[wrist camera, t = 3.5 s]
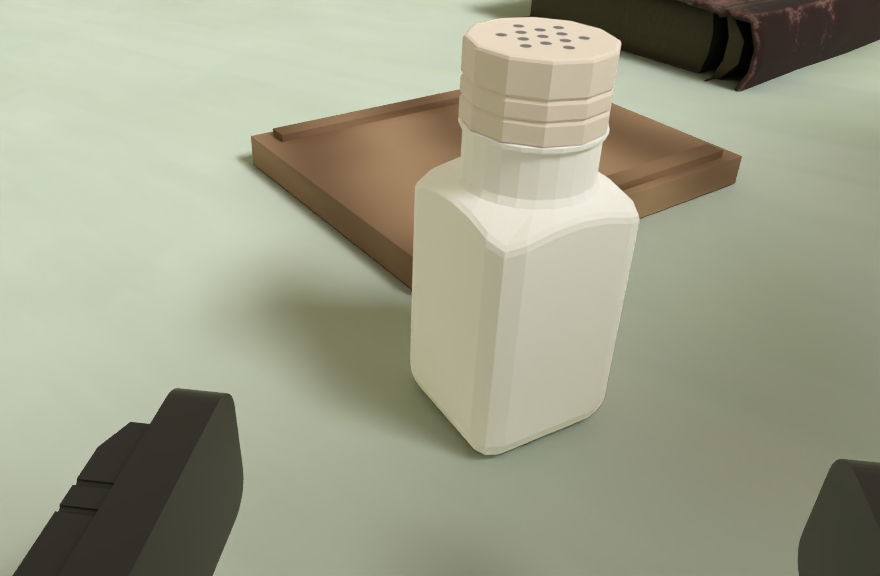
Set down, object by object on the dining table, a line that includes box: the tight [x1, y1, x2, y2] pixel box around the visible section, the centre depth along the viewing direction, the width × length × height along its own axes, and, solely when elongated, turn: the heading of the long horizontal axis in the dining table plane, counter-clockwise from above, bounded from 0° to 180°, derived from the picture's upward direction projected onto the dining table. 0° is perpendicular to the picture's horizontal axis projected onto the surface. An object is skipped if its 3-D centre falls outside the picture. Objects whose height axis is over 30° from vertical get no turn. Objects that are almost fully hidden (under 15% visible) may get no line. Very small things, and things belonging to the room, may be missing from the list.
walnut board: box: [251, 90, 742, 289], centre depth 33 cm, size 16×12×2 cm
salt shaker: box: [410, 17, 640, 455], centre depth 19 cm, size 4×4×10 cm
